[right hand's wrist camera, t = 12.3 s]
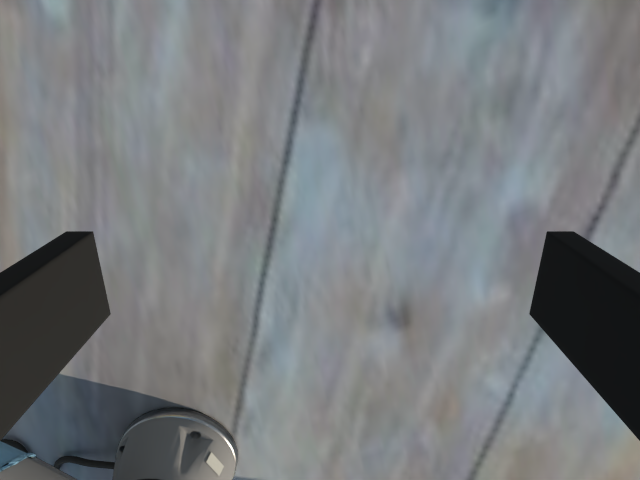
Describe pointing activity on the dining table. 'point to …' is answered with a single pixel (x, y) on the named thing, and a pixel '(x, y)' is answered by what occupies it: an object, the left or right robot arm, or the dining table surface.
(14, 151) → the dining table surface
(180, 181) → the dining table surface
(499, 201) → the dining table surface
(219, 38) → the dining table surface
